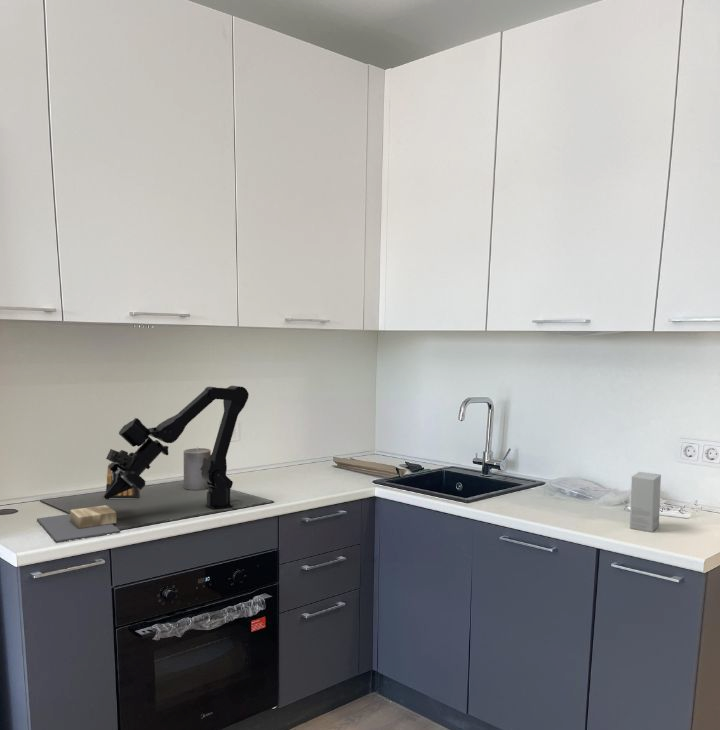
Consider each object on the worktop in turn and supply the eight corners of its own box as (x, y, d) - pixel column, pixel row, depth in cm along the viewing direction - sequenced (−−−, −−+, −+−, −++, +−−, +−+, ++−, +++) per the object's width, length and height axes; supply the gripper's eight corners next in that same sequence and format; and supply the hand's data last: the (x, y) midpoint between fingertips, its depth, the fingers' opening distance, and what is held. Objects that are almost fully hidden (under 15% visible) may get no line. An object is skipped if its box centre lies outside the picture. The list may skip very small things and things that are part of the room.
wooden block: (106, 505, 185) (70, 509, 179) (116, 512, 177) (78, 517, 171) (106, 515, 185) (70, 520, 179) (116, 523, 177) (78, 528, 171)
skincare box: (637, 522, 187) (638, 471, 187) (661, 527, 183) (662, 474, 183) (629, 528, 181) (630, 475, 180) (653, 533, 177) (654, 478, 176)
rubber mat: (94, 512, 191) (94, 510, 191) (120, 532, 170) (120, 530, 170) (36, 520, 181) (36, 518, 181) (56, 543, 161) (56, 540, 161)
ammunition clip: (105, 499, 208) (105, 463, 208) (107, 498, 210) (107, 462, 210) (138, 498, 209) (138, 463, 209) (139, 497, 211) (140, 462, 211)
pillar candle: (203, 483, 235) (202, 443, 234) (215, 487, 227) (215, 446, 227) (178, 487, 228) (178, 446, 228) (191, 491, 221) (190, 449, 220)
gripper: (115, 435, 191) (76, 475, 184) (134, 443, 176) (92, 486, 169) (140, 459, 195) (103, 498, 189) (161, 468, 181) (122, 511, 174)
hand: (104, 498), depth 180 cm, fingers closed
